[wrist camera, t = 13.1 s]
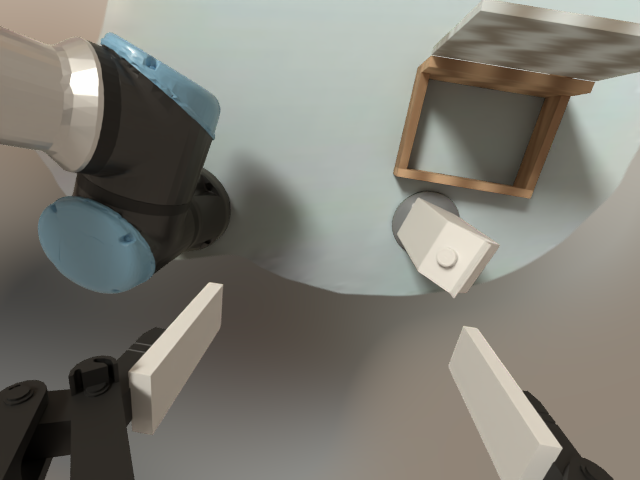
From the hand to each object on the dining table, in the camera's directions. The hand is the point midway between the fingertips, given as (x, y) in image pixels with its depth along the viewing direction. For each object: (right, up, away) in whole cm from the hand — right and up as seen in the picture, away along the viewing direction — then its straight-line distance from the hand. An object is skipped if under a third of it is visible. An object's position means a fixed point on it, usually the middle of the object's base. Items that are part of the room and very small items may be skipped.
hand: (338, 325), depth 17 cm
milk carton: (+17, +7, +35) cm, 39 cm away
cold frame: (+22, +21, +30) cm, 43 cm away
